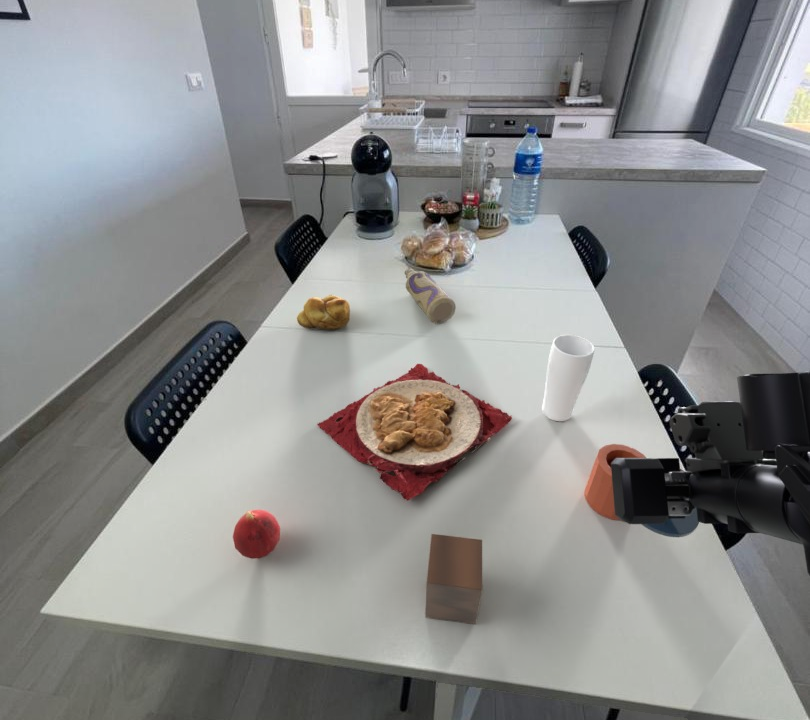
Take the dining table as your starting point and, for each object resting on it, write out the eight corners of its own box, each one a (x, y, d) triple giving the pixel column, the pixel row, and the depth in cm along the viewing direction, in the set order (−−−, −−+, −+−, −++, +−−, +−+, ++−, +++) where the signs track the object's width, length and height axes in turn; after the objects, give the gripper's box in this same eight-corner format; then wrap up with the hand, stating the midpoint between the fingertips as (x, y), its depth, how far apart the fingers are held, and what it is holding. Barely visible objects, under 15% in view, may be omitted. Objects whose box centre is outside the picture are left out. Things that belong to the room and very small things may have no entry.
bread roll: (295, 334, 105) (290, 304, 100) (302, 314, 112) (297, 285, 108) (350, 333, 105) (347, 303, 100) (353, 313, 113) (351, 284, 108)
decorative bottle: (456, 321, 109) (458, 296, 105) (427, 326, 107) (428, 302, 103) (421, 278, 129) (421, 256, 125) (396, 282, 127) (395, 259, 123)
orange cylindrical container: (645, 503, 66) (663, 467, 61) (617, 529, 63) (634, 492, 58) (602, 472, 71) (616, 436, 66) (574, 495, 67) (586, 458, 63)
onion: (291, 536, 62) (282, 500, 57) (270, 575, 57) (258, 539, 53) (254, 526, 63) (242, 490, 59) (231, 564, 59) (216, 528, 54)
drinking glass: (579, 408, 83) (599, 341, 74) (569, 430, 78) (589, 361, 70) (543, 396, 86) (559, 330, 77) (532, 416, 81) (546, 348, 73)
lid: (711, 515, 52) (732, 483, 49) (673, 550, 49) (692, 518, 45) (648, 471, 58) (663, 439, 54) (610, 499, 54) (623, 467, 51)
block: (476, 575, 57) (482, 539, 53) (475, 624, 52) (482, 589, 48) (429, 569, 58) (431, 533, 53) (425, 617, 53) (426, 582, 48)
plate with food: (512, 425, 80) (515, 410, 78) (408, 506, 65) (408, 490, 63) (419, 369, 94) (419, 355, 92) (316, 425, 80) (314, 410, 78)
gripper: (864, 402, 39) (733, 411, 54) (648, 403, 39) (579, 412, 54) (888, 537, 37) (745, 507, 52) (661, 539, 37) (586, 508, 52)
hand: (663, 480), depth 53 cm, fingers closed on lid, 2 cm apart
